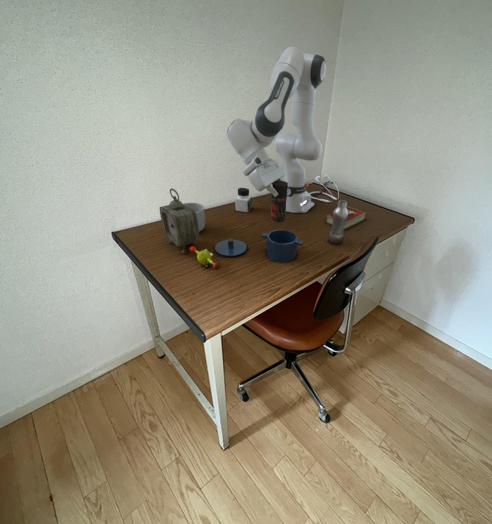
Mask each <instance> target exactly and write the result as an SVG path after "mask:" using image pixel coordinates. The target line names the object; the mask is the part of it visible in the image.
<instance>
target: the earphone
mask: <svg viewBox="0 0 492 524" xmlns="http://www.w3.org/2000/svg"><path fill="white" fill-rule="evenodd" d="M323 178H324V179H326V178H327V179H328V180H329V181H332V182H333V183H332V182H331V183H332V184H334V186H335V187H336V190H337V193H338V197H335V196H334V195H333V194H332V192H331V191H330V190H329V189H328V188H327V186H326V185H325V186H326V187H325V186H324V185H323V187H324V189H325V188H326V191H328V192H329V193H330V194H328V193H326V192H324V193H323V191H321V192H322V193H321V194H323V195H325V196H327V197H329V198H331V199H332V200H328V199H323V198H317V197H314V196H313V197H311V199H313V200H316V201H320V202H324V203H327V204H329V203H331V202H333V201H334V200H335V201H337V200H338V199H339V198H340V191H339V188H338V186H337V185H336V184H335V182H334V181H333V180H332V178H331V177H330V176H329V174H328V173H325V174H324V175H323ZM320 179H321V176H320V175H317V176H315V178H314V180H315V181H316V182H317V183H319V184H320V185H322V182H320ZM319 192H320V191H312V192H308V193H309V194H310V195H311V194H312V195H313V194H315V193H319Z"/></svg>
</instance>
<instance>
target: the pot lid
mask: <svg viewBox="0 0 492 524" xmlns="http://www.w3.org/2000/svg"><path fill="white" fill-rule="evenodd" d="M247 247H248V246H247V244H246V243H245V242H243V241H241V240H239V239H234V238H228V239H224V240H221V241H219V242H217V243H216V245H215V247H214V251H215V252H216V253H217V254H218V255H220V256H223V257H238V256H241V255H242V254H244V253H246V251H247Z"/></svg>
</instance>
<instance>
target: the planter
mask: <svg viewBox="0 0 492 524" xmlns="http://www.w3.org/2000/svg"><path fill="white" fill-rule="evenodd" d="M182 204H185V205H187V206H188V207H190V208H191V209H192V210H194V212H195V213H196V216H197V221H198V228H199V233H200V232H201V231H203V230H204V229H205V228H206V227H205V226H206V214H205V206H204V205H203V204H201V203H198V202H182Z"/></svg>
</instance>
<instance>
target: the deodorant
mask: <svg viewBox="0 0 492 524" xmlns="http://www.w3.org/2000/svg"><path fill="white" fill-rule="evenodd" d="M272 186H273V188H274V189H275V190H277V191H278V192H279V194H278V195H277V196H276V197H275V196H274V195H273V194H272V193H271V200H270V201H271V204H270V205H271V206H270V220H271V222H274V223H283V222H285V221H286V213H287V211H286V200H287V188H288V183H287V182H285V180H283V181H275V182H273V183H272Z"/></svg>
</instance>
